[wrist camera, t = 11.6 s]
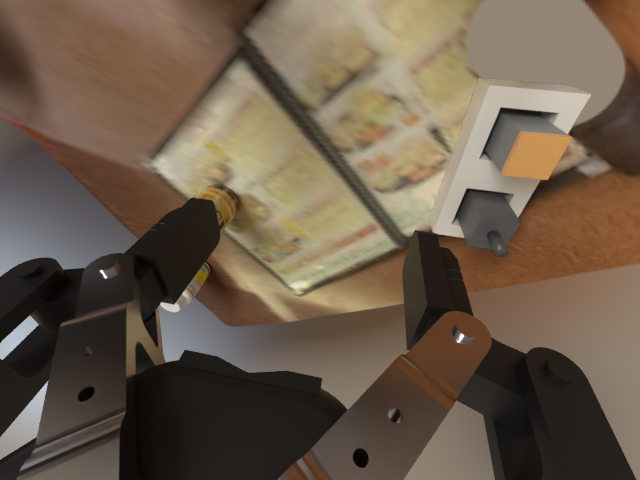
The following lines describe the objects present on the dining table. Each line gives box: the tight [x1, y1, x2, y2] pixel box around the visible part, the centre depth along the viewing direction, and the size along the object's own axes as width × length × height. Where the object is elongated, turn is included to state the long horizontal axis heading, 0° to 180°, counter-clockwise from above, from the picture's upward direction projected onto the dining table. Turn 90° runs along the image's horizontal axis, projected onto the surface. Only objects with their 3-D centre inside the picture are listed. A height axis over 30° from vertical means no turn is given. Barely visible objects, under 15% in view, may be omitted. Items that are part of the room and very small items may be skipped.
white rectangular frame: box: [430, 78, 591, 257], centre depth 31 cm, size 18×9×12 cm, turn 177°
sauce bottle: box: [194, 185, 239, 233], centre depth 39 cm, size 6×6×20 cm
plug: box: [484, 109, 572, 180], centre depth 29 cm, size 4×4×8 cm
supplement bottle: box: [160, 262, 210, 312], centre depth 54 cm, size 6×6×10 cm
